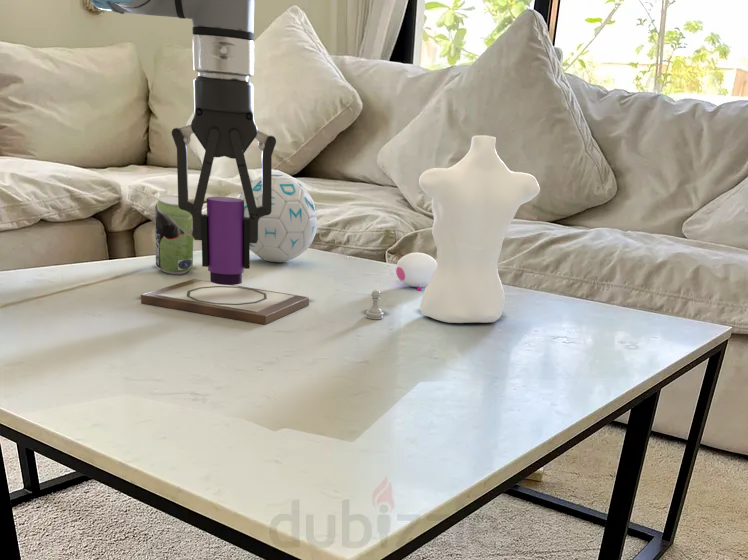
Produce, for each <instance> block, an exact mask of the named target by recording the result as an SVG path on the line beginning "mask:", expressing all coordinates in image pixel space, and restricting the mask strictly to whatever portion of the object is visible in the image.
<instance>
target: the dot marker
mask: <svg viewBox="0 0 748 560" xmlns="http://www.w3.org/2000/svg"><path fill="white" fill-rule="evenodd" d="M206 214H207V239H208V267H207V271H208V272H209V276H210V277H209V279H210V280H209V281H211V282H212V283H215V284H221V285H236V286H238V285H241V284H242V283H243V274H244V272H245V269H244V200H242V199H239V197H238V198H237V197H229V196H208V197H206Z"/></svg>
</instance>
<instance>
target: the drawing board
mask: <svg viewBox="0 0 748 560" xmlns="http://www.w3.org/2000/svg"><path fill="white" fill-rule="evenodd" d="M140 303H142V304H144V305H151V306H156V307H161V308H168V309H174V310H179V311H186V312H191V313H196V314H203V315H208V316H214V317H219V318H226V319H232V320H238V321H242V322H249V323H255V324H261V325H267V324H270V323H272V322H274V321H277V320H278V319H281V318H283V317H285V316H287V315H290V314H292V313H294V312H296V311H299V310H301V309H303V308H305V307H307V306H309V305H310V297H309V296H304V295H298V294H291V293H286V292H278V291H273V290H266V289H260V288H254V287H247V286H243V285H242V286H241V285H221V284H215V283H212V282H211V281H210V280H204V279H199V278H192V279H189V280H185V281H182V282H179V283H175V284H172V285H168V286H166V287H161V288H159V289H156V290H152V291H149V292H146V293H142V294H140Z"/></svg>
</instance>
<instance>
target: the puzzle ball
mask: <svg viewBox="0 0 748 560" xmlns="http://www.w3.org/2000/svg"><path fill="white" fill-rule="evenodd" d="M250 182H251V186H252V190H253V195H254V199H255V203H256V207H258V206H261V205H262V176H260V177H258V178H257V179H254V180H251V181H250ZM238 199H242V200H244V217H249V212H248V208H247V204H246V200H245V196H244V192H243V191H241V193H240V195H239V197H238ZM317 230H318V213H317V206H316V204H315V201H314V199H313V198H312V196H311V195H310V193H309V192H308V191H307V190H306V189H305V188H304V187H303V185H302V184H301V183H299V182H296V181H295V180H294V179H292V178H290V177H287V176H285V175H284V174H272V205H271V214H269V215H265V216H262V217H260V218H259V220H258V241H257V243H250V252H252V253H253V254H254V255H256V256H257V257H258V258H260V259H262V260H264V261H266V262H271V263H284V262H288V261H291V260H294V259H295V258H298V257H299V256H300V255H302V254H303V253H304V252H306V251H307V250H308V249H309V248H310V246H311V245H312V244H313V241H314V240H315V236H316V234H317Z"/></svg>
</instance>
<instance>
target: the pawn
mask: <svg viewBox="0 0 748 560" xmlns="http://www.w3.org/2000/svg"><path fill="white" fill-rule="evenodd" d="M380 297H381V292H380V290H378V289H374V290H373V291H372V292H371V298H370V300H371V301H372V305H371V306H370V308H368V310H366V311H365V317H366V318H367V319H369V320H382V319H383V318H384V312H383V311H382V309H381V308H380V306H379V301H381V298H380Z"/></svg>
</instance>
